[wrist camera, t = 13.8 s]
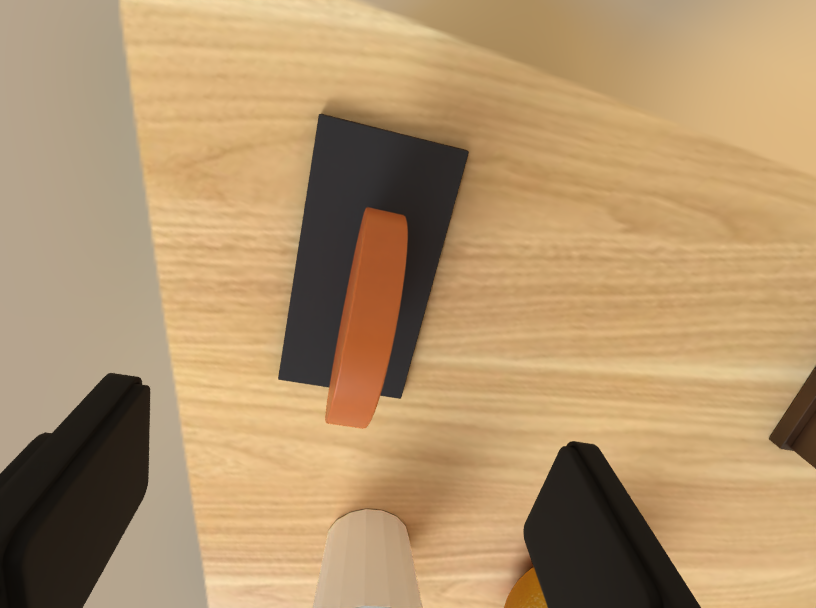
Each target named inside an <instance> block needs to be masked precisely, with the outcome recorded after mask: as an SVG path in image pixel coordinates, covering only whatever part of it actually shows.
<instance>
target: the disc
mask: <svg viewBox="0 0 816 608" xmlns="http://www.w3.org/2000/svg"><path fill="white" fill-rule="evenodd" d="M407 242H408V229H407V221H406V217H405V216H404V215H401V214H396V213H392V212H387V211H383V210H378V209H374V208H369V207H367V208H366V209H365V212H364V215H363V218H362V222H361V226H360V231H359V235H358V239H357V244H356V249H355V253H354V258H353V263H352V267H351V272H350V277H349V282H348V287H347V292H346V297H345V303H344V308H343V313H342V318H341V324H340V329H339V334H338V340H337V345H336V351H335V357H334V362H333V368H332V374H331V380H330V386H329V393H328V399H327V406H326V415H325V421H326V423H328V424H335V425H342V426H349V427H355V428H362V429H363V428H366V427H367V426H368V425H369V423H370V421H371V419H372V417H373V415H374V412H375V410H376V407H377V404H378V401H379V398H380V394H381V391H382V387H383V384H384V380H385V376H386V372H387V368H388V364H389V360H390V355H391V351H392V346H393V341H394V336H395V331H396V326H397V320H398V315H399V309H400V303H401V297H402V290H403V283H404V275H405V267H406V256H407Z"/></svg>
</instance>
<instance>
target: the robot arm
mask: <svg viewBox="0 0 816 608" xmlns="http://www.w3.org/2000/svg"><path fill="white" fill-rule="evenodd" d="M149 422H150V387H149V386H147V385H142V380H141V378H139V377H135V376H128V375H121V374H115V373H109V374H107V375H106V376H105V377H104V378H103V379H102V380H101V381H100V382H99V383H98V384H97V385H96V386H95V387H94V389H93V390H92V391H91V392H90V393H89V394H88V395H87V396H86V397H85V398H84V399H83V400H82V402H81V403H80V404H79V405H78V406H77V407H76V408H75V409H74V410H73V411H72V412H71V413H70V414H69V416H68V417H67V418H66V419H65V420H64V421H63V422H62V423H61V424H60V425H59V427H57V429H56V430H55V431H54V432H53V433H43V434H41V435H39V436H37V437H36V438H35V439H34V440H32V442H30V444H28V446H27V447H26V448H25V449H24V450H23V451H22V452H21V453H20V454H19V455H18V456H17V457H16V458H15V459H14V460H13V461H12V462H11V463H10V464H9V465H8V466H7V467H6V469H4V471H2V473H1V474H0V608H83V606H84V604H85V602H86V601H87V599H88V597H89V595H90V593H91V592H92V590H93V588H94V586H95V584H96V583H97V581H98V579H99V577H100V575H101V574H102V572H103V570H104V568H105V566H106V565H107V563H108V561H109V559H110V557H111V556H112V554H113V552H114V550H115V548H116V546H117V545H118V543H119V541H120V539H121V538H122V535H123V534H124V532H125V530H126V528H127V527H128V525H129V523H130V521H131V520H132V518H133V516H134V514H135V512H136V511H137V509H138V507H139V505H140V503H141V502H142V500H143V498H144V495H145V493H146V489H147V486H148V473H149V471H148V470H149V425H150V423H149ZM524 540H525V543H526V546H527V549H528V552H529V555H530V558H531V560H532V563H533V566H534V569H535V572H536V575H537V578H538V581H539V584H540V587H541V590H542V592H543V595H544V598H545V601H546V604H547V607H548V608H701V607H700V605H699V604H698V602H697V601H696V599H695V597H694V596H693V594H692V593H691V591H690V590H689V588H688V587H687V585H686V583H685V582H684V580H683V579H682V577H681V576H680V574H679V572H678V571H677V569H676V568H675V566H674V565H673V563H672V562H671V560H670V558H669V557H668V555H667V554H666V552H665V551H664V549H663V548H662V546H661V544H660V543H659V541H658V540H657V538H656V537H655V535H654V533H653V532H652V530H651V529H650V527H649V526H648V524H647V523H646V521H645V519H644V518H643V516H642V515H641V513H640V512H639V510H638V508H637V507H636V505H635V504H634V502H633V501H632V499H631V498H630V496H629V494H628V493H627V491H626V490H625V488H624V487H623V485H622V483H621V482H620V480H619V479H618V477H617V476H616V474H615V473H614V471H613V469H612V468H611V466H610V465H609V463H608V462H607V460H606V458H605V457H604V455H603V454H602V452H601V451H600V449H599V448H598V447H597V446H596V445H594V444H588V443H581V442H575V441H572V442H569V443H568V444H567V446H563V447H562V448H561V449H560V450H559V452H558V455H557V457H556V459H555V461H554V463H553V465H552V467H551V469H550V471H549V474H548V476H547V478H546V480H545V482H544V484H543V486H542V488H541V491H540V493H539V495H538V497H537V499H536V501H535V503H534V505H533V507H532V510H531V512H530V514H529V516H528V518H527V520H526V522H525V525H524Z"/></svg>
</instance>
